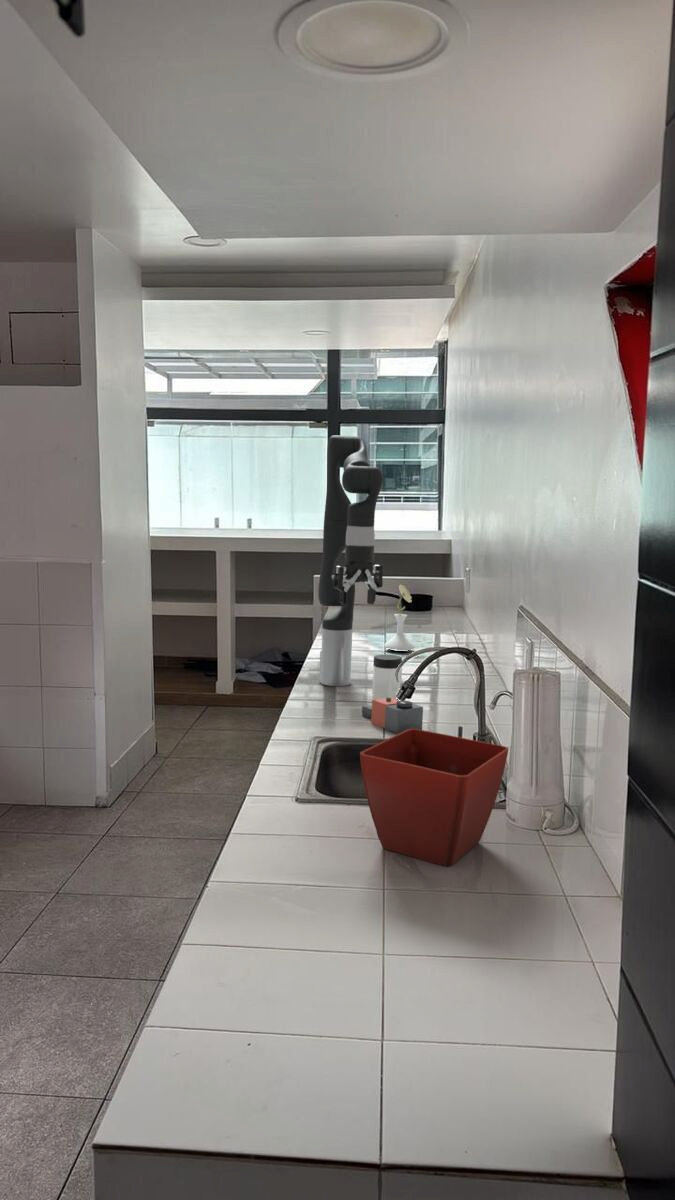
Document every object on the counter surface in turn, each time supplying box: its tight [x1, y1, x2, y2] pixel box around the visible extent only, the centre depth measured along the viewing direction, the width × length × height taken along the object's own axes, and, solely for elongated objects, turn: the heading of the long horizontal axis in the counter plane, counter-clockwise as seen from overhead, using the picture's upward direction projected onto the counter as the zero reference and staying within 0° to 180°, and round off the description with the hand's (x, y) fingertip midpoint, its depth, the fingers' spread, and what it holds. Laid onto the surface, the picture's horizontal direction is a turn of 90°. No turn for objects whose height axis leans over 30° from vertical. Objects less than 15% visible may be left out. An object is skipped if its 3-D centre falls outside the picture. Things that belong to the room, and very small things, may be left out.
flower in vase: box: [384, 584, 415, 651], centre depth 327 cm, size 13×11×25 cm
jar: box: [371, 653, 403, 699], centre depth 252 cm, size 9×8×12 cm
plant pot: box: [359, 729, 509, 867], centre depth 146 cm, size 19×19×17 cm
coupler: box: [361, 700, 424, 735], centre depth 224 cm, size 19×8×7 cm, turn 34°
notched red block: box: [371, 697, 399, 729], centre depth 224 cm, size 6×6×7 cm
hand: (357, 604), depth 230 cm, fingers open, 8 cm apart
